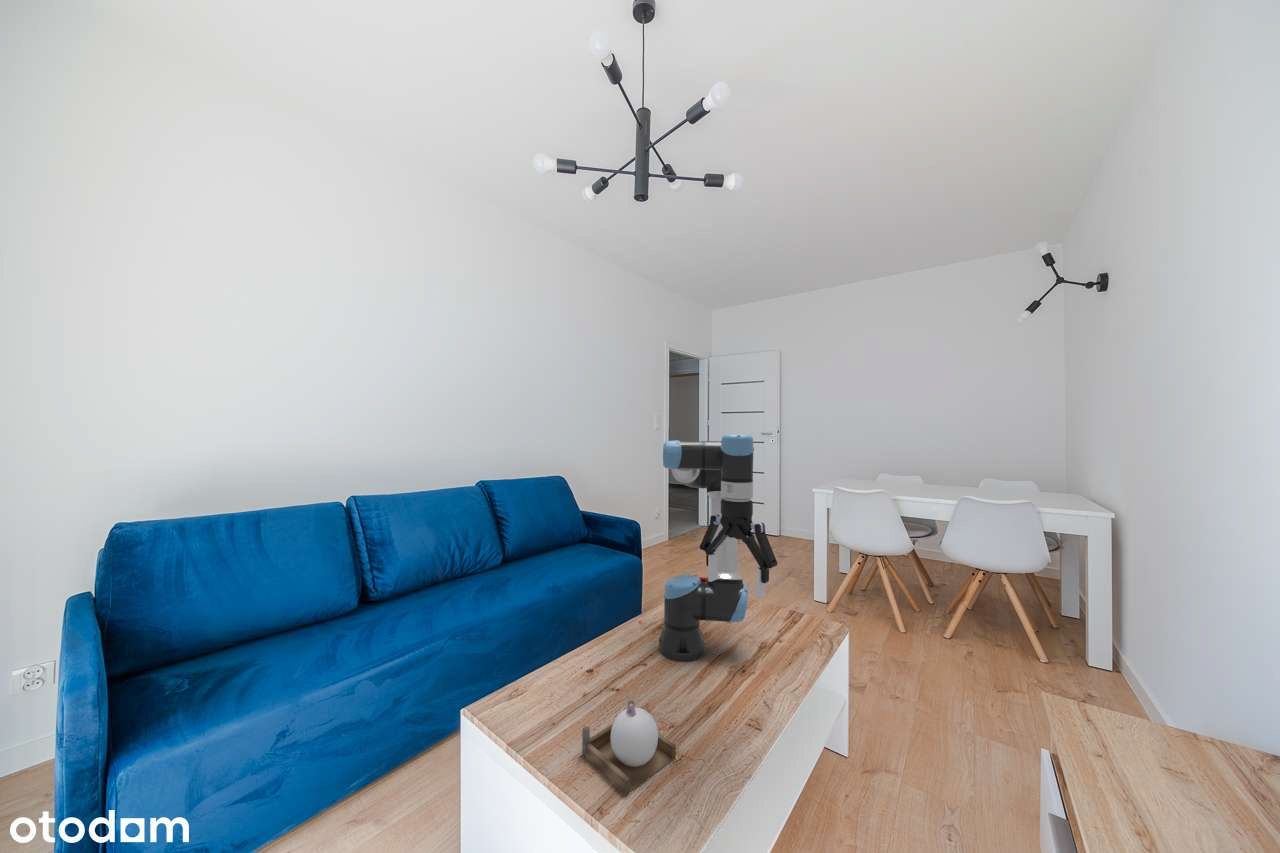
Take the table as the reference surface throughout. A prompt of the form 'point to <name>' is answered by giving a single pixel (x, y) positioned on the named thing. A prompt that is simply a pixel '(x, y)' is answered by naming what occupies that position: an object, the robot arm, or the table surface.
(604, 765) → the keeper
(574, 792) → the table surface
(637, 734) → the ornament
